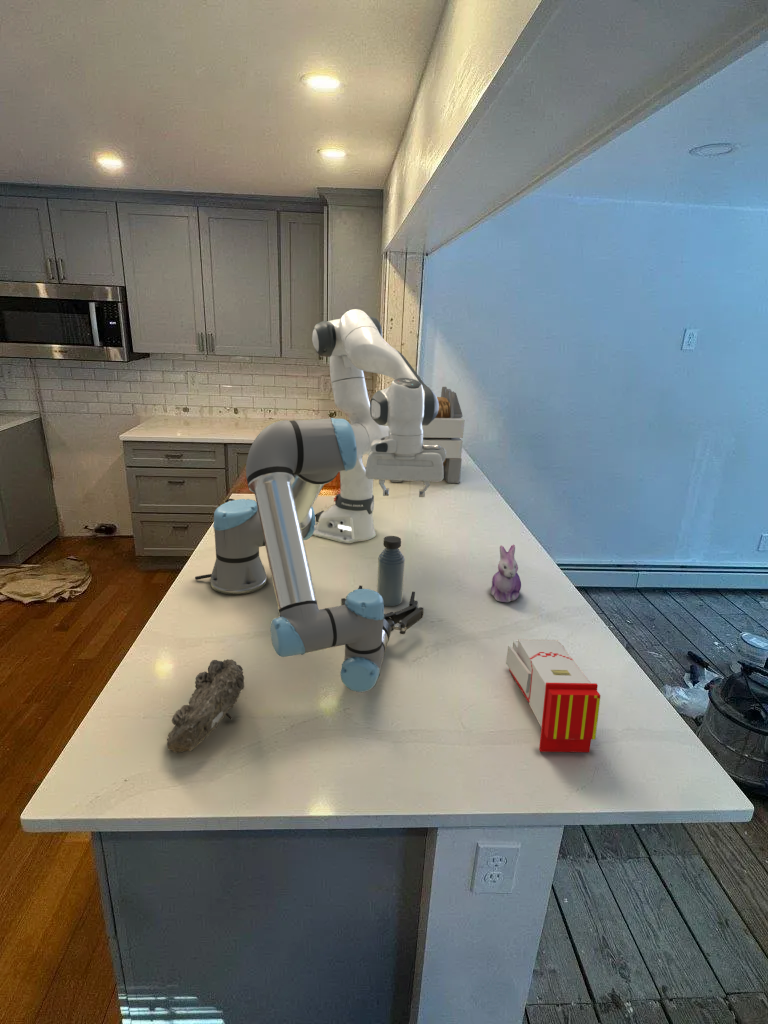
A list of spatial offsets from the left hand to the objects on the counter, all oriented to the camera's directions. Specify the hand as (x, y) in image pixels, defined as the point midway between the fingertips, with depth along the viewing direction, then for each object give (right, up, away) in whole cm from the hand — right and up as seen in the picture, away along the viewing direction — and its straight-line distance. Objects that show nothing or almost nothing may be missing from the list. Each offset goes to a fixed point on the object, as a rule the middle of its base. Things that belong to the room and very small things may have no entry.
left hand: (386, 593), depth 145 cm
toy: (+32, -18, -29) cm, 47 cm away
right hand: (+4, +25, +4) cm, 26 cm away
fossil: (-34, -18, -37) cm, 53 cm away
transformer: (+16, +40, +130) cm, 137 cm away
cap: (+1, +13, +4) cm, 14 cm away
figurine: (+33, -3, +14) cm, 37 cm away
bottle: (+1, -3, +10) cm, 10 cm away
